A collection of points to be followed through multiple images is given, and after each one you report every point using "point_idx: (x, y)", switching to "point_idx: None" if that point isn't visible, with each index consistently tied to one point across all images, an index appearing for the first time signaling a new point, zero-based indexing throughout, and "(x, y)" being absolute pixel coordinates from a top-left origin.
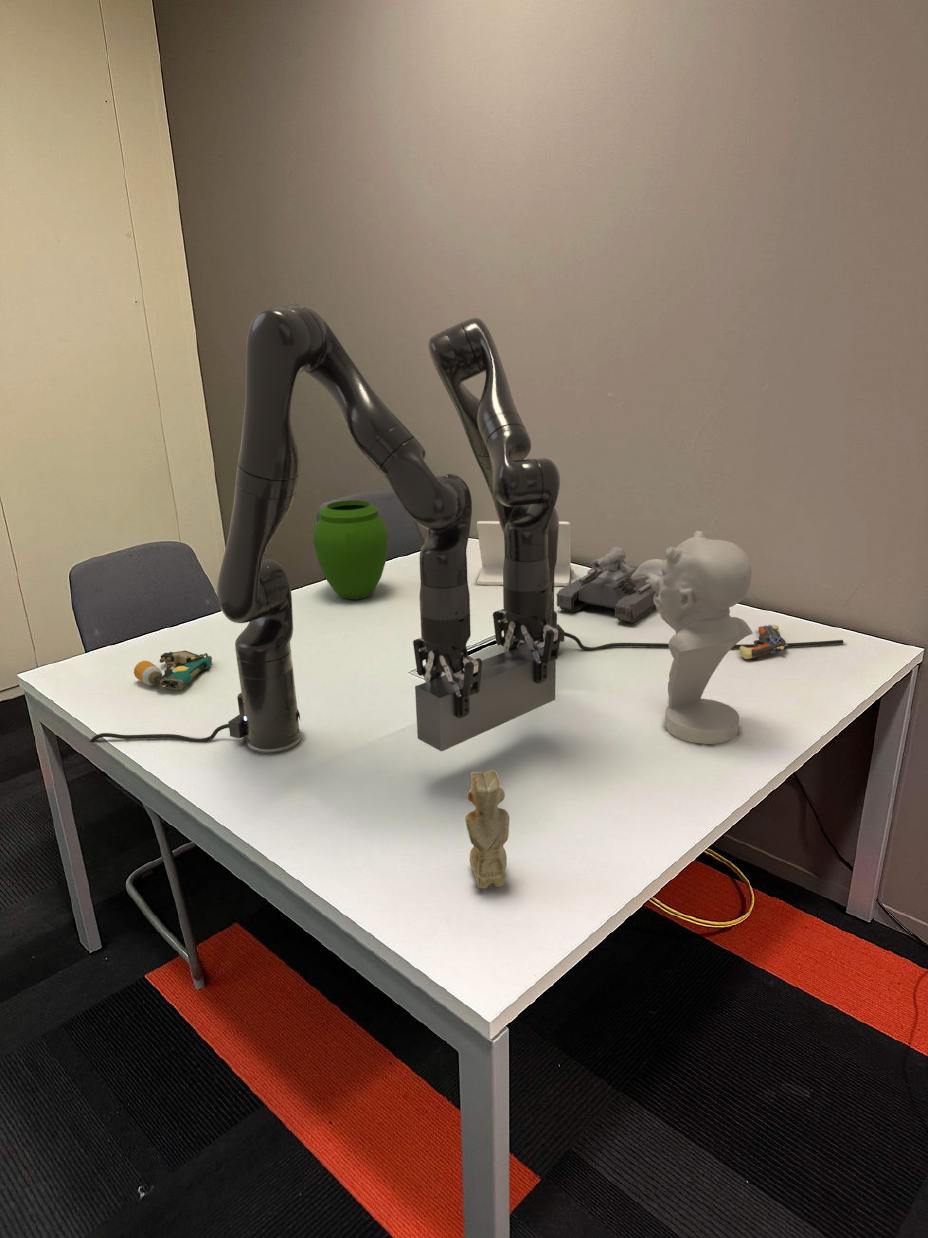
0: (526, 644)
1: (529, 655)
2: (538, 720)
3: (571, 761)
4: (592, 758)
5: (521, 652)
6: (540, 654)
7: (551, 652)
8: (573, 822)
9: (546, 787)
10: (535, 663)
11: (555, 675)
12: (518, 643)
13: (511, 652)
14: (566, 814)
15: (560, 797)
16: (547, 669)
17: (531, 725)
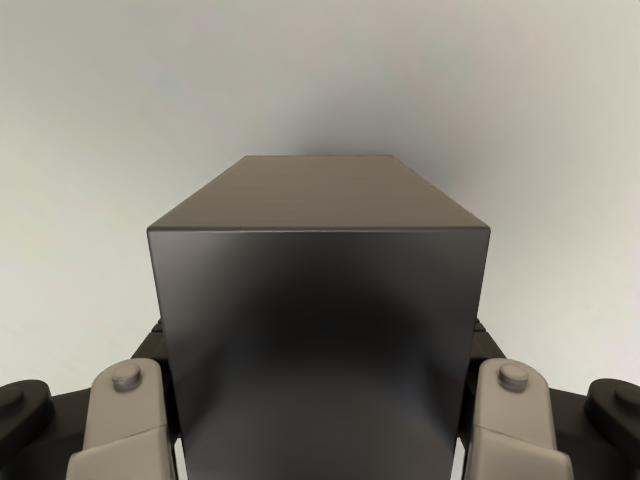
0: (175, 305)
1: (372, 434)
2: (239, 71)
3: (472, 189)
4: (510, 135)
5: (284, 434)
6: (427, 370)
7: (626, 452)
8: (610, 362)
9: (493, 313)
10: (458, 436)
11: (422, 178)
12: (166, 410)
13: (232, 476)
14: (584, 352)
15: (541, 320)
16: (491, 337)
17: (250, 114)
